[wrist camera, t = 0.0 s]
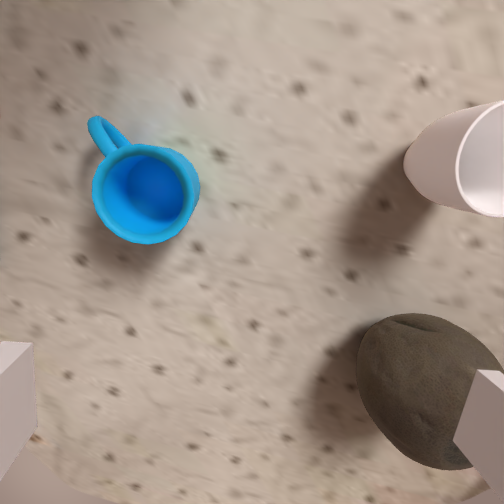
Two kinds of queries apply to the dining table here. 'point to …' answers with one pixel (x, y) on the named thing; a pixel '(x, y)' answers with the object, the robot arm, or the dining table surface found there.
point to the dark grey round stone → (420, 384)
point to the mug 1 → (141, 187)
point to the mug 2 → (461, 160)
